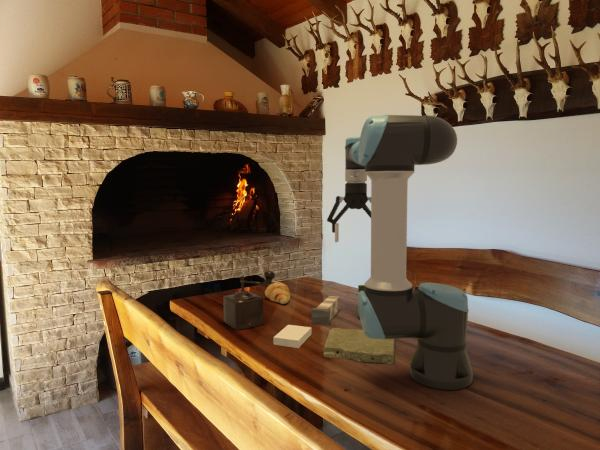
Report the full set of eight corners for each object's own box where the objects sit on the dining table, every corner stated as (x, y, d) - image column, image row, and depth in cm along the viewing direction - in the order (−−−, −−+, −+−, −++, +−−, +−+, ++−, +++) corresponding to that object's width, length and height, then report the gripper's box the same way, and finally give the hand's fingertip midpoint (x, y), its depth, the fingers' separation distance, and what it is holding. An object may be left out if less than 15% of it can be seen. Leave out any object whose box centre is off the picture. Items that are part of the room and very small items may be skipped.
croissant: (292, 313, 176) (301, 295, 176) (270, 304, 173) (279, 285, 173) (276, 298, 196) (284, 281, 196) (256, 289, 192) (264, 272, 193)
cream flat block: (311, 335, 145) (298, 349, 133) (288, 332, 147) (273, 345, 136) (311, 327, 144) (298, 340, 133) (288, 324, 147) (273, 337, 136)
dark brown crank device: (237, 331, 147) (236, 277, 145) (222, 322, 156) (221, 271, 154) (278, 322, 156) (277, 270, 154) (261, 313, 165) (261, 265, 163)
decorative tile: (330, 336, 144) (330, 325, 143) (394, 341, 140) (395, 329, 139) (320, 360, 126) (320, 348, 125) (394, 366, 122) (394, 354, 121)
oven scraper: (328, 325, 152) (328, 311, 152) (311, 323, 154) (311, 309, 154) (342, 310, 169) (342, 297, 169) (326, 308, 171) (326, 295, 171)
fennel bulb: (375, 320, 158) (375, 286, 156) (363, 322, 156) (363, 288, 154) (365, 315, 163) (366, 282, 161) (354, 317, 161) (354, 284, 159)
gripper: (318, 182, 158) (318, 242, 161) (391, 182, 151) (390, 245, 153) (323, 182, 165) (323, 239, 168) (393, 182, 158) (392, 242, 161)
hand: (355, 242), depth 161 cm, fingers open, 13 cm apart
